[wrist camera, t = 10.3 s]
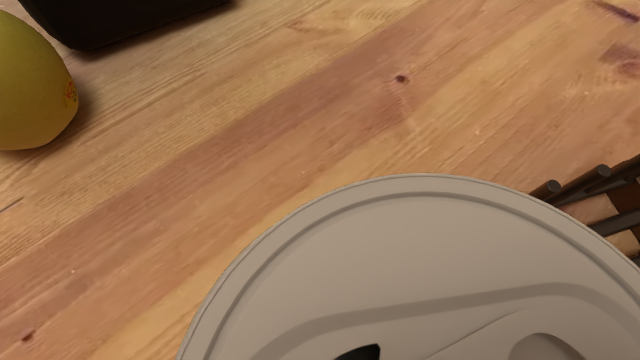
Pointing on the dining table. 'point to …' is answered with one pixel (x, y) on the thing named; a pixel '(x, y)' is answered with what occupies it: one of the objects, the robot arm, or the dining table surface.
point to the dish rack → (618, 182)
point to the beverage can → (422, 281)
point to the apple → (31, 87)
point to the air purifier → (106, 18)
